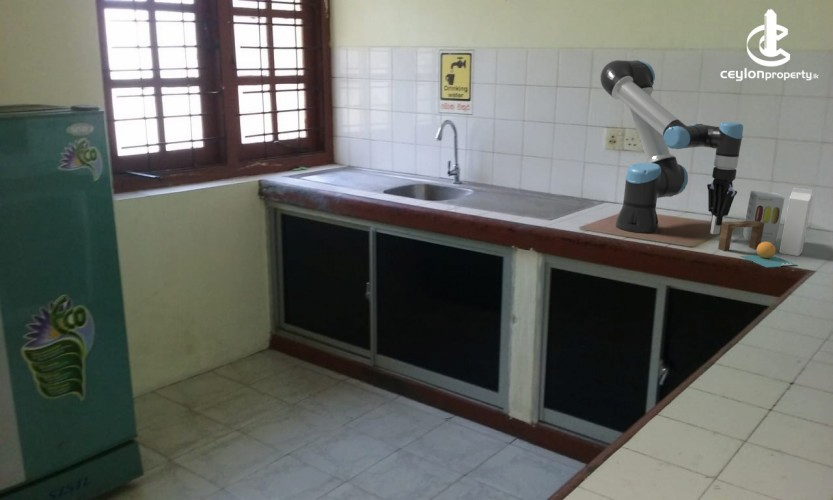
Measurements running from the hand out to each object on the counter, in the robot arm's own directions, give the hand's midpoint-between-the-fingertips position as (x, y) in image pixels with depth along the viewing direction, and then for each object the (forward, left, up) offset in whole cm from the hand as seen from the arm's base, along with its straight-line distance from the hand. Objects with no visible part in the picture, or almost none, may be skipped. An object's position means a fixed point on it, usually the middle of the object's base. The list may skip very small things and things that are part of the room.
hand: (714, 233), depth 265 cm
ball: (+1, -24, +1) cm, 24 cm away
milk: (+15, -20, -2) cm, 25 cm away
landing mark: (0, -27, -2) cm, 27 cm away
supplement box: (+16, -4, -2) cm, 17 cm away
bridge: (0, -13, -2) cm, 13 cm away
